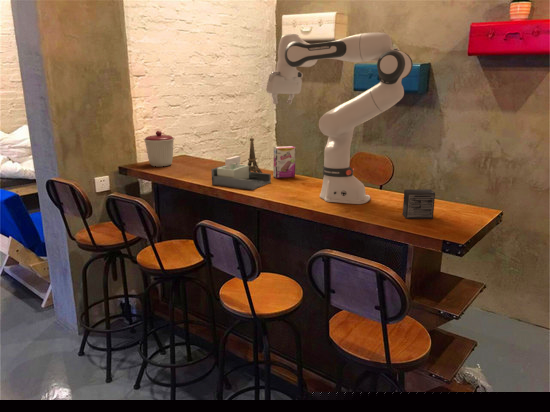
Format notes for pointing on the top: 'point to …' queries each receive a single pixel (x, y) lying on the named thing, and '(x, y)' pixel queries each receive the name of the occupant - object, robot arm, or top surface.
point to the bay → (241, 180)
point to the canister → (159, 149)
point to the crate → (234, 169)
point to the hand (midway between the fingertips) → (282, 103)
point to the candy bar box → (284, 162)
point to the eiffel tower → (253, 159)
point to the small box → (418, 204)
